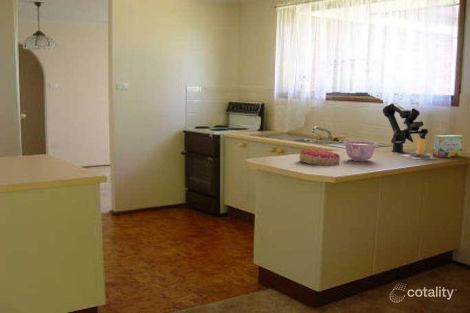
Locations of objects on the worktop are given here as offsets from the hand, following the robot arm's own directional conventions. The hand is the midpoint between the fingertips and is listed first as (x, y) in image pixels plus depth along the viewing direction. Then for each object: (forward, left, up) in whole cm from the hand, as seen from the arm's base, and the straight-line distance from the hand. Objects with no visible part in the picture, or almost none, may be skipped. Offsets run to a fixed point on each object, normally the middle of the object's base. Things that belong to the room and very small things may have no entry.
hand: (418, 142), depth 357 cm
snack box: (+10, +21, -11) cm, 26 cm away
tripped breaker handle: (+3, -1, -8) cm, 8 cm away
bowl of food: (-14, -48, -11) cm, 51 cm away
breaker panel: (+1, -1, -10) cm, 11 cm away
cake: (-23, -77, -11) cm, 81 cm away
